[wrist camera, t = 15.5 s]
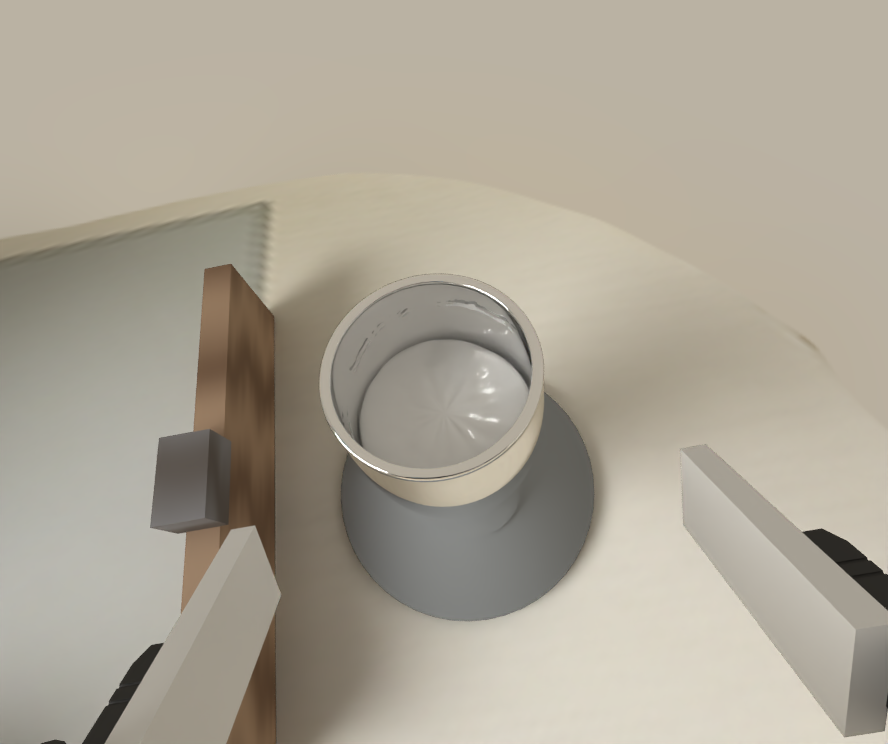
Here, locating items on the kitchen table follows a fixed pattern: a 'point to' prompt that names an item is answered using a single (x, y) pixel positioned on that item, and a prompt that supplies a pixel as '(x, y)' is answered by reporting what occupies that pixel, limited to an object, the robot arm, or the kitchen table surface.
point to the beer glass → (438, 398)
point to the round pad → (485, 558)
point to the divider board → (250, 456)
